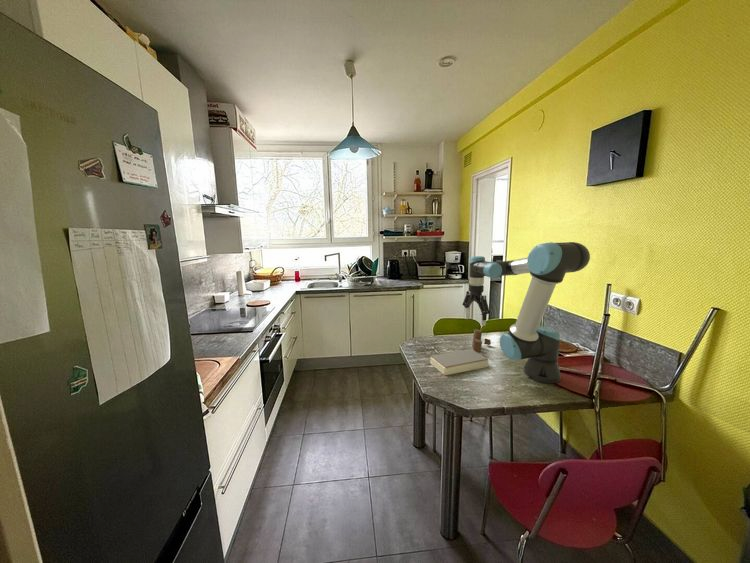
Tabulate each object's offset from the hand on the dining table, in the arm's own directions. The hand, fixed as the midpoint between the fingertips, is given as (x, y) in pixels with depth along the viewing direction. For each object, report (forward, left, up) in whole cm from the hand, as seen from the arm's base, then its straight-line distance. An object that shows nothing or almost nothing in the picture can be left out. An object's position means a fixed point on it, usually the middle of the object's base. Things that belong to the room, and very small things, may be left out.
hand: (474, 322), depth 164 cm
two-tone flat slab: (-13, +19, -16) cm, 28 cm away
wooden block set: (-1, -3, -16) cm, 17 cm away
